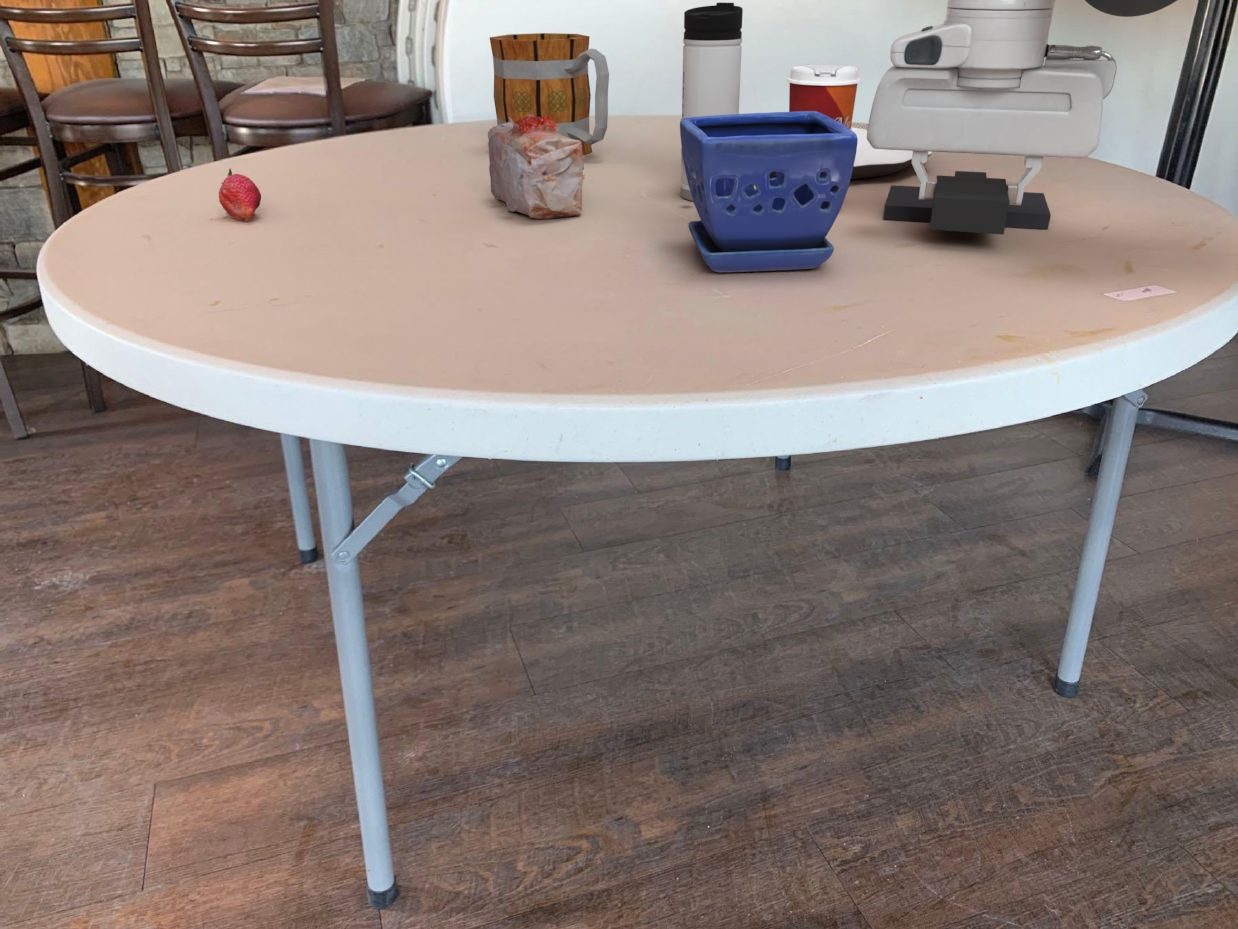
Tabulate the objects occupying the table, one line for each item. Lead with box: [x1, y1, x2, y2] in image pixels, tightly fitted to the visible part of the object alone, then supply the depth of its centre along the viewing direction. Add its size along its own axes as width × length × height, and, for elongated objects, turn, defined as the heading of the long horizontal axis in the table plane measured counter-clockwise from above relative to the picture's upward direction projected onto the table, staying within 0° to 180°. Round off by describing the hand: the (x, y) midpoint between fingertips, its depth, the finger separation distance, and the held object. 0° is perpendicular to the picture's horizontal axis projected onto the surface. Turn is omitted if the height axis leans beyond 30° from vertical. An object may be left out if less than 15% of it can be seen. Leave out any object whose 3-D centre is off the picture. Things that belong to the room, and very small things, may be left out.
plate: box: [770, 127, 933, 180], centre depth 127 cm, size 29×29×2 cm
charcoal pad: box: [882, 184, 1052, 230], centre depth 102 cm, size 16×10×2 cm, turn 72°
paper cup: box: [786, 64, 862, 129], centre depth 104 cm, size 8×8×14 cm
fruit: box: [218, 167, 262, 222], centre depth 103 cm, size 4×6×5 cm
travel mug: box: [680, 2, 744, 202], centre depth 106 cm, size 6×7×20 cm
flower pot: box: [679, 111, 858, 273], centre depth 85 cm, size 13×13×12 cm
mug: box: [489, 32, 610, 156], centre depth 131 cm, size 20×14×15 cm
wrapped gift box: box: [487, 113, 586, 220], centre depth 104 cm, size 14×8×10 cm, turn 28°
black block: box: [929, 170, 1009, 235], centre depth 93 cm, size 6×13×3 cm, turn 162°
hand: (968, 201), depth 92 cm, fingers closed on black block, 6 cm apart
